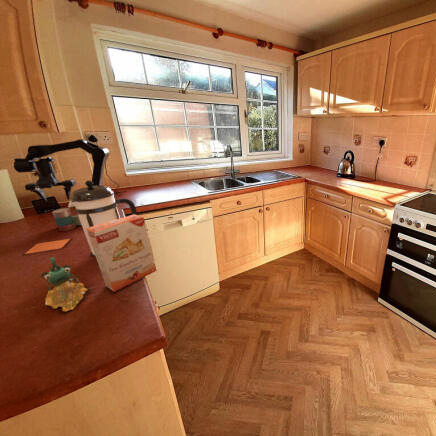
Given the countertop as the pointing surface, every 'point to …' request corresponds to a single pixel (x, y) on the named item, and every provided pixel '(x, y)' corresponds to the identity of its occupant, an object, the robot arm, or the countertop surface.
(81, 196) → the coffee press
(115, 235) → the cracker box
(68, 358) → the countertop surface
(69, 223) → the can
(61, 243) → the cloth
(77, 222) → the block
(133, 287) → the countertop surface
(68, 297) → the frog figurine
